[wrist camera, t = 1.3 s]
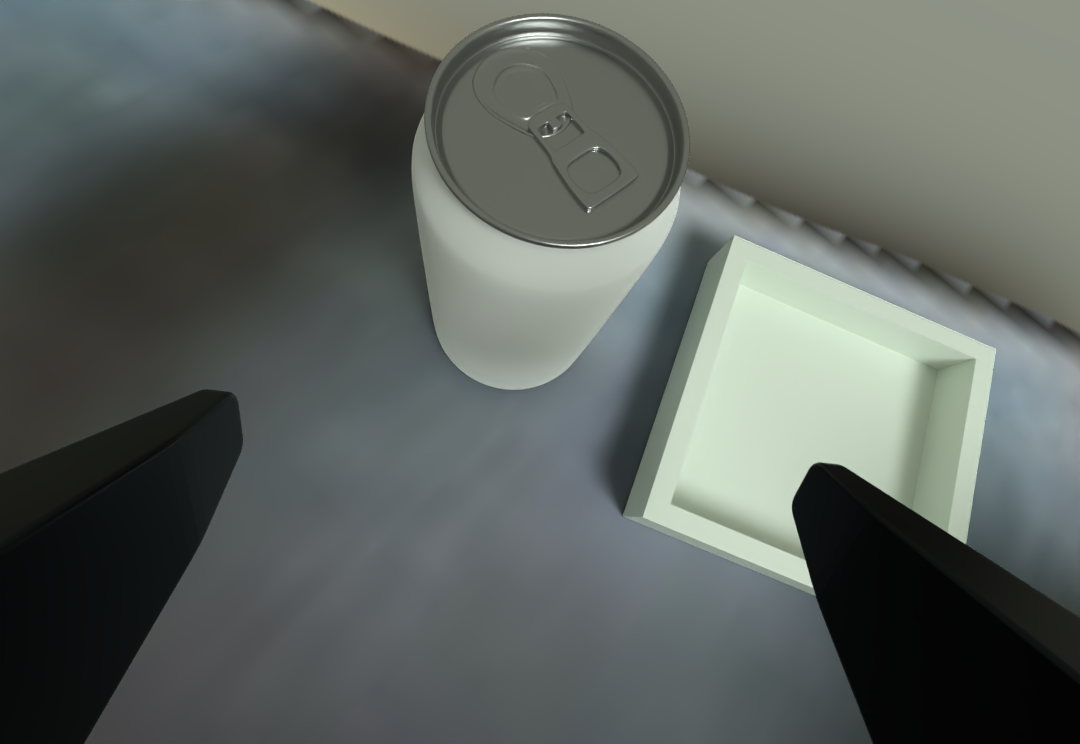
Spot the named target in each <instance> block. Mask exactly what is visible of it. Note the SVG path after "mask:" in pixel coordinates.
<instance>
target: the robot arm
mask: <svg viewBox="0 0 1080 744" xmlns="http://www.w3.org/2000/svg"><path fill="white" fill-rule="evenodd" d="M242 445H243V434H242V427H241V420H240V412H239V405H238V400H237V398H236V396H235V395H234V394H233V393H231V392H224V391H216V390H201V391H198V392H196V393H193V394H191V395H189V396H186V397H184V398H181V399H179V400H176V401H174V402H172V403H169V404H167V405H164V406H162V407H160V408H157V409H155V410H152V411H150V412H148V413H145V414H143V415H140V416H138V417H136V418H133V419H131V420H128V421H126V422H123V423H121V424H119V425H116V426H114V427H111V428H109V429H107V430H104V431H102V432H99V433H97V434H95V435H92V436H90V437H87V438H85V439H83V440H80V441H78V442H75V443H73V444H70V445H68V446H66V447H63V448H61V449H58V450H56V451H54V452H51V453H49V454H46V455H44V456H42V457H39V458H37V459H34V460H32V461H29V462H27V463H25V464H22V465H20V466H17V467H15V468H13V469H10V470H8V471H5V472H3V473H1V474H0V744H84V743H85V741H86V739H87V738H88V736H89V734H90V733H91V731H92V729H93V727H94V726H95V724H96V722H97V721H98V719H99V717H100V715H101V714H102V712H103V710H104V709H105V707H106V705H107V703H108V702H109V700H110V698H111V697H112V695H113V693H114V691H115V690H116V688H117V686H118V685H119V683H120V681H121V680H122V678H123V676H124V674H125V673H126V671H127V669H128V668H129V666H130V664H131V662H132V661H133V659H134V657H135V656H136V654H137V652H138V650H139V649H140V647H141V645H142V644H143V642H144V640H145V638H146V637H147V635H148V633H149V632H150V630H151V628H152V626H153V625H154V623H155V621H156V620H157V618H158V616H159V614H160V613H161V611H162V609H163V608H164V606H165V604H166V603H167V601H168V599H169V597H170V596H171V594H172V592H173V591H174V589H175V587H176V585H177V584H178V582H179V580H180V579H181V577H182V575H183V573H184V572H185V570H186V568H187V567H188V565H189V563H190V561H191V560H192V558H193V556H194V554H195V552H196V551H197V549H198V547H199V545H200V543H201V541H202V539H203V537H204V535H205V533H206V531H207V529H208V526H209V524H210V522H211V519H212V517H213V515H214V513H215V510H216V508H217V506H218V503H219V501H220V499H221V497H222V494H223V492H224V490H225V487H226V485H227V483H228V481H229V478H230V476H231V474H232V471H233V469H234V467H235V465H236V462H237V460H238V458H239V455H240V453H241V449H242ZM792 514H793V518H794V522H795V525H796V529H797V532H798V536H799V539H800V543H801V547H802V550H803V554H804V557H805V561H806V564H807V568H808V571H809V575H810V579H811V582H812V586H813V589H814V592H815V595H816V598H817V601H818V604H819V607H820V610H821V612H822V615H823V618H824V620H825V623H826V625H827V628H828V630H829V633H830V635H831V638H832V640H833V643H834V646H835V648H836V651H837V653H838V656H839V658H840V661H841V663H842V666H843V669H844V671H845V674H846V676H847V679H848V681H849V684H850V686H851V689H852V691H853V694H854V697H855V699H856V702H857V704H858V707H859V709H860V712H861V714H862V717H863V720H864V722H865V725H866V727H867V730H868V732H869V735H870V737H871V740H872V742H873V744H1080V617H1078V616H1077V615H1075V614H1074V613H1072V612H1070V611H1069V610H1067V609H1066V608H1064V607H1063V606H1061V605H1060V604H1058V603H1056V602H1055V601H1053V600H1052V599H1050V598H1049V597H1047V596H1046V595H1044V594H1042V593H1041V592H1039V591H1038V590H1036V589H1035V588H1033V587H1031V586H1030V585H1028V584H1027V583H1025V582H1024V581H1022V580H1021V579H1019V578H1017V577H1016V576H1014V575H1013V574H1011V573H1010V572H1008V571H1007V570H1005V569H1003V568H1002V567H1000V566H999V565H997V564H996V563H994V562H992V561H991V560H989V559H988V558H986V557H985V556H983V555H982V554H980V553H978V552H977V551H975V550H974V549H972V548H971V547H969V546H968V545H966V544H964V543H963V542H961V541H960V540H958V539H957V538H955V537H953V536H952V535H950V534H949V533H947V532H946V531H944V530H943V529H941V528H939V527H938V526H936V525H935V524H933V523H932V522H930V521H929V520H927V519H925V518H924V517H922V516H921V515H919V514H918V513H916V512H914V511H913V510H911V509H910V508H908V507H907V506H905V505H904V504H902V503H900V502H899V501H897V500H896V499H894V498H893V497H891V496H890V495H888V494H886V493H885V492H883V491H882V490H880V489H879V488H877V487H875V486H874V485H872V484H871V483H869V482H868V481H866V480H865V479H863V478H861V477H860V476H858V475H857V474H855V473H854V472H852V471H851V470H849V469H847V468H846V467H844V466H842V465H839V464H832V463H823V462H818V463H815V464H813V465H812V466H811V467H810V468H809V470H808V472H807V474H806V475H805V477H804V479H803V481H802V483H801V485H800V486H799V488H798V490H797V492H796V494H795V496H794V498H793V501H792Z"/></svg>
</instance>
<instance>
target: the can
mask: <svg viewBox="0 0 1080 744" xmlns="http://www.w3.org/2000/svg"><path fill="white" fill-rule="evenodd" d="M689 153H690V135H689V127H688V121H687V117H686V114H685V111H684V107H683V105H682V102H681V100H680V98H679V95H678V93H677V91H676V90H675V88H674V86H673V84H672V83H671V81H670V80H669V78H668V77H667V75H666V74H665V73H664V71H663V70H662V69H661V68H660V67H659V66H658V64H657V63H656V62H655V61H654V60H653V59H652V58H651V57H650V56H649V55H648V54H647V53H646V52H644V51H643V50H642V49H641V48H640V47H638V46H637V45H636V44H634V43H633V42H631V41H630V40H628V39H627V38H625V37H624V36H622V35H620V34H619V33H617V32H615V31H613V30H611V29H609V28H606V27H604V26H602V25H600V24H597V23H594V22H591V21H588V20H584V19H581V18H577V17H572V16H567V15H560V14H544V13H543V14H542V13H540V14H525V15H518V16H513V17H508V18H505V19H501V20H498V21H495V22H493V23H490V24H488V25H485V26H483V27H481V28H479V29H478V30H476V31H474V32H473V33H471V34H469V35H468V36H467V37H465V38H464V39H463V40H461V41H460V42H459V43H458V44H457V45H456V46H455V47H454V48H453V49H452V50H451V51H450V52H449V53H448V54H447V55H446V57H445V58H444V59H443V61H442V62H441V63H440V65H439V67H438V68H437V70H436V72H435V74H434V76H433V78H432V80H431V83H430V86H429V89H428V93H427V97H426V102H425V110H424V114H423V116H422V118H421V121H420V123H419V126H418V128H417V131H416V135H415V139H414V143H413V150H412V167H411V171H412V185H413V195H414V202H415V209H416V217H417V223H418V230H419V237H420V243H421V250H422V256H423V262H424V269H425V275H426V281H427V287H428V293H429V299H430V305H431V311H432V317H433V322H434V326H435V331H436V334H437V337H438V339H439V342H440V344H441V346H442V348H443V350H444V351H445V353H446V354H447V356H448V357H449V359H450V360H451V361H452V362H453V363H454V364H455V365H456V366H457V367H458V368H459V369H460V370H461V371H462V372H464V373H465V374H466V375H468V376H469V377H471V378H472V379H474V380H476V381H478V382H480V383H483V384H485V385H488V386H491V387H495V388H500V389H508V390H520V389H528V388H533V387H537V386H540V385H542V384H545V383H547V382H549V381H551V380H553V379H555V378H556V377H558V376H559V375H561V374H562V373H563V372H564V371H566V370H567V369H568V368H569V367H570V366H571V365H572V364H573V363H574V361H575V360H576V359H577V358H578V357H579V355H580V354H581V353H582V352H583V350H584V349H585V348H586V347H587V345H588V344H589V343H590V342H591V340H592V339H593V338H594V336H595V335H596V334H597V333H598V331H599V330H600V329H601V327H602V326H603V325H604V323H605V322H606V321H607V320H608V318H609V317H610V316H611V314H612V313H613V312H614V310H615V309H616V308H617V306H618V305H619V304H620V303H621V301H622V300H623V299H624V297H625V296H626V295H627V293H628V292H629V291H630V289H631V288H632V287H633V285H634V284H635V283H636V281H637V280H638V279H639V277H640V276H641V275H642V273H643V272H644V271H645V269H646V268H647V267H648V265H649V264H650V262H651V261H652V260H653V258H654V257H655V255H656V254H657V252H658V251H659V249H660V248H661V246H662V245H663V243H664V241H665V239H666V237H667V235H668V233H669V231H670V229H671V227H672V225H673V222H674V219H675V216H676V213H677V209H678V204H679V197H680V186H681V184H682V182H683V179H684V176H685V173H686V170H687V166H688V161H689Z"/></svg>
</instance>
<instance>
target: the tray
mask: <svg viewBox="0 0 1080 744" xmlns="http://www.w3.org/2000/svg"><path fill="white" fill-rule="evenodd" d="M995 354H996V349H995V348H992V347H990V346H988V345H986V344H983V343H981V342H979V341H976V340H974V339H972V338H970V337H967V336H965V335H963V334H960V333H958V332H956V331H953V330H951V329H949V328H947V327H944V326H942V325H940V324H937V323H935V322H933V321H931V320H928V319H926V318H924V317H921V316H919V315H917V314H914V313H912V312H910V311H908V310H905V309H903V308H901V307H898V306H896V305H894V304H892V303H889V302H887V301H885V300H882V299H880V298H878V297H876V296H873V295H871V294H869V293H866V292H864V291H862V290H859V289H857V288H855V287H853V286H850V285H848V284H846V283H843V282H841V281H839V280H837V279H834V278H832V277H830V276H827V275H825V274H823V273H821V272H818V271H816V270H814V269H811V268H809V267H807V266H804V265H802V264H800V263H798V262H795V261H793V260H791V259H788V258H786V257H784V256H782V255H779V254H777V253H775V252H772V251H770V250H768V249H766V248H763V247H761V246H759V245H756V244H754V243H752V242H749V241H747V240H745V239H743V238H740V237H738V236H736V235H734V236H733V237H732V238H731V239H730V240H729V241H728V242H727V243H726V244H725V245H724V246H723V247H722V248H721V249H720V250H719V251H718V252H717V253H716V254H715V255H714V256H713V257H712V258H711V259H710V260H709V261H708V264H707V267H706V270H705V273H704V275H703V278H702V281H701V284H700V287H699V290H698V293H697V296H696V299H695V302H694V305H693V308H692V311H691V314H690V317H689V320H688V323H687V326H686V329H685V332H684V335H683V338H682V341H681V344H680V347H679V350H678V353H677V356H676V359H675V362H674V365H673V368H672V371H671V374H670V377H669V380H668V383H667V386H666V388H665V391H664V394H663V397H662V400H661V403H660V406H659V409H658V412H657V415H656V418H655V421H654V424H653V427H652V430H651V433H650V436H649V439H648V442H647V445H646V448H645V451H644V454H643V457H642V460H641V463H640V466H639V469H638V472H637V475H636V478H635V481H634V484H633V487H632V490H631V493H630V496H629V499H628V501H627V504H626V507H625V510H624V513H623V517H626V518H628V519H630V520H633V521H635V522H638V523H640V524H643V525H645V526H647V527H650V528H652V529H655V530H657V531H659V532H662V533H664V534H667V535H669V536H672V537H674V538H676V539H679V540H681V541H684V542H686V543H688V544H691V545H693V546H696V547H698V548H701V549H703V550H705V551H708V552H710V553H713V554H715V555H718V556H720V557H722V558H725V559H727V560H730V561H732V562H734V563H737V564H739V565H742V566H744V567H747V568H749V569H751V570H754V571H756V572H759V573H761V574H763V575H766V576H768V577H771V578H773V579H776V580H778V581H780V582H783V583H785V584H788V585H790V586H792V587H795V588H797V589H800V590H802V591H805V592H807V593H809V594H812V595H814V596H816V595H815V592H814V589H813V586H812V582H811V579H810V575H809V571H808V568H807V564H806V561H805V557H804V554H803V550H802V547H801V543H800V539H799V536H798V532H797V529H796V525H795V522H794V518H793V514H792V501H793V498H794V496H795V494H796V492H797V490H798V488H799V486H800V485H801V483H802V481H803V479H804V477H805V475H806V474H807V472H808V470H809V468H810V467H811V466H812V465H813V464H815V463H818V462H823V463H832V464H839V465H842V466H844V467H846V468H847V469H849V470H851V471H852V472H854V473H855V474H857V475H858V476H860V477H861V478H863V479H865V480H866V481H868V482H869V483H871V484H872V485H874V486H875V487H877V488H879V489H880V490H882V491H883V492H885V493H886V494H888V495H890V496H891V497H893V498H894V499H896V500H897V501H899V502H900V503H902V504H904V505H905V506H907V507H908V508H910V509H911V510H913V511H914V512H916V513H918V514H919V515H921V516H922V517H924V518H925V519H927V520H929V521H930V522H932V523H933V524H935V525H936V526H938V527H939V528H941V529H943V530H944V531H946V532H947V533H949V534H950V535H952V536H953V537H955V538H957V539H958V540H960V541H961V542H963V543H964V544H966V541H967V534H968V528H969V521H970V515H971V508H972V502H973V496H974V489H975V483H976V476H977V470H978V463H979V457H980V451H981V444H982V438H983V431H984V425H985V418H986V412H987V406H988V399H989V393H990V386H991V380H992V373H993V367H994V361H995Z"/></svg>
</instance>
